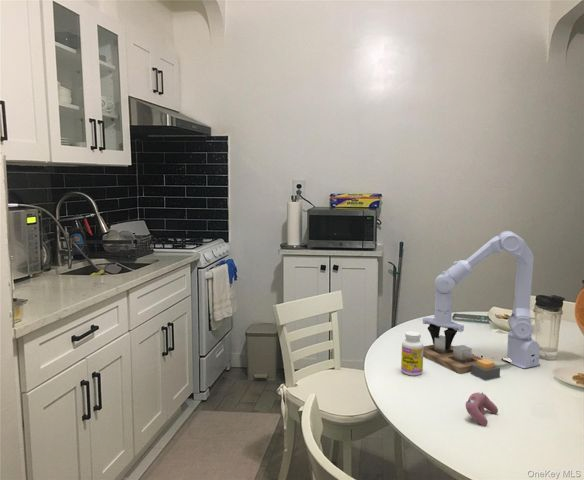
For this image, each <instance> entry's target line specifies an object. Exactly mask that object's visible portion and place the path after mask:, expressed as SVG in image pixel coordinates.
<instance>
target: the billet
mask: <svg viewBox="0 0 584 480" xmlns="http://www.w3.org/2000/svg"><path fill="white" fill-rule="evenodd" d="M471 354H473V353H472V348H471V347H469V346H466V345H464V344H461V345H454V350H453V360H454V361H456V362H458V363H461V364H464V363H469V362H471Z"/></svg>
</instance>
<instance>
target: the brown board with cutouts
mask: <svg viewBox="0 0 584 480" xmlns="http://www.w3.org/2000/svg"><path fill="white" fill-rule="evenodd" d="M454 346H455V345H454ZM454 346H453V345H452V344H451V353H446V354H439V353H436V352H434V345H433V344H430V345H423V358H425V359H428V360H430V361H432V362H434V363H436V364H437V365H439V366H442V367H444V368H446V369H449V370H451V371H453V372H454V373H457V374H459V375H462V374H466V373H467V374H468V373H471V364H476V363H477V360H482V359H484V358H483V357H480V356H478V355H475V354H473V353H471V362H469V363H464V364H461V363H458V362H456V361H454V360H453V350H454Z"/></svg>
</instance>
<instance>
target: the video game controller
mask: <svg viewBox="0 0 584 480" xmlns="http://www.w3.org/2000/svg"><path fill="white" fill-rule="evenodd" d="M485 409H486V410H487V412H490V413H492V414H498V412H499V409H498V407H497V405H496V404H495V403H494V402H493V401H492V400H491V399H490V398H489V397H488V396H487V395H486V394H485V393H484V392H483V391H482V392H479V391H478V392H474V393H472V394H470V396H469V397H468V399H467V401H466V402H465V410H466V412H467V413H468V415H470V416H471V417H472V418H473V420H474V421H476V422H477V423H478V424H480V426H483V427H486V426H487V425H488V422H489V421H488V419H487V417H486V416H485V415H484V414H486V410H485Z"/></svg>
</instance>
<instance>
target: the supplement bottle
mask: <svg viewBox="0 0 584 480" xmlns="http://www.w3.org/2000/svg"><path fill="white" fill-rule="evenodd" d="M421 337H422V336H421V333H420V332H419V331H414V330H409V331H406V332H405V339H403V340H402V342H401V359H400V360H401V363H400V364H401V367H400V370H401V373H403V374H405V375H406V376H407V375H409V376H413V377H414V376H419V375H422V373H423V368H424V367H423V366H424V357H423V346H424V343H423V341H421V340H420V339H421Z"/></svg>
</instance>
